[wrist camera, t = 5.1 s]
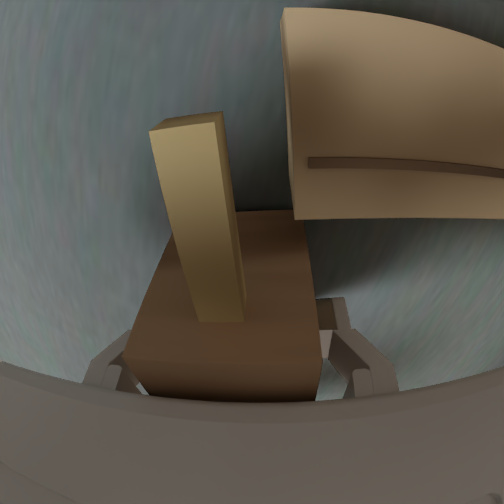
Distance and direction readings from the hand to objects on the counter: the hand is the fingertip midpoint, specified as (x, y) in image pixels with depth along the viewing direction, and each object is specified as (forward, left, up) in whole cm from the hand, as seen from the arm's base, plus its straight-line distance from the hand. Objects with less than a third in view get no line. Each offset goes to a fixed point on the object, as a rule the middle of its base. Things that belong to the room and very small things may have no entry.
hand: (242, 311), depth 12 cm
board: (-7, +10, -3) cm, 13 cm away
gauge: (-2, 0, -3) cm, 4 cm away
